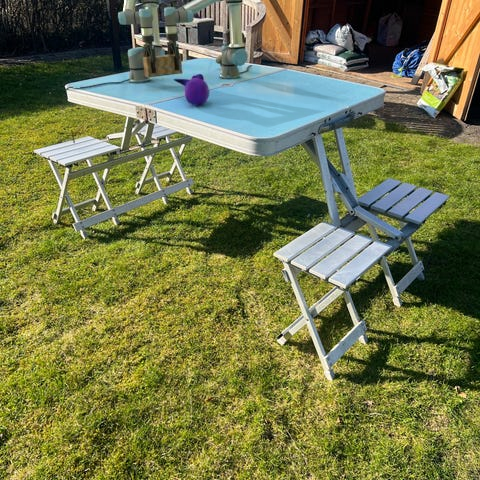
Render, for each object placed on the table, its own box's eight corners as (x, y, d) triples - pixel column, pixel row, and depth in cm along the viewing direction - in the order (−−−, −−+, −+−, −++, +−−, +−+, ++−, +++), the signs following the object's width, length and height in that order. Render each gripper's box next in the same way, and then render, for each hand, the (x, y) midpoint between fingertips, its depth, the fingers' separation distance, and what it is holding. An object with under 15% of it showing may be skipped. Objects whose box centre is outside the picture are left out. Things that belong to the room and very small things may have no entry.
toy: (197, 96, 290) (209, 111, 269) (171, 92, 283) (181, 106, 262) (203, 71, 282) (215, 85, 261) (175, 66, 275) (186, 79, 254)
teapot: (219, 71, 369) (218, 51, 361) (212, 69, 377) (212, 49, 370) (241, 68, 378) (241, 49, 370) (234, 66, 386) (234, 47, 379)
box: (148, 77, 302) (146, 58, 296) (144, 76, 307) (142, 57, 301) (182, 73, 313) (180, 54, 307) (178, 72, 318) (176, 53, 312)
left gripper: (159, 36, 288) (162, 73, 299) (147, 33, 302) (151, 69, 314) (148, 37, 284) (152, 75, 296) (136, 34, 299) (141, 70, 310)
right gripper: (183, 34, 295) (185, 70, 307) (170, 31, 310) (173, 66, 321) (172, 34, 292) (176, 72, 304) (160, 32, 306) (164, 68, 318)
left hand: (151, 72), depth 305 cm, fingers closed on box, 7 cm apart
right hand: (174, 69), depth 312 cm, fingers closed on box, 7 cm apart
